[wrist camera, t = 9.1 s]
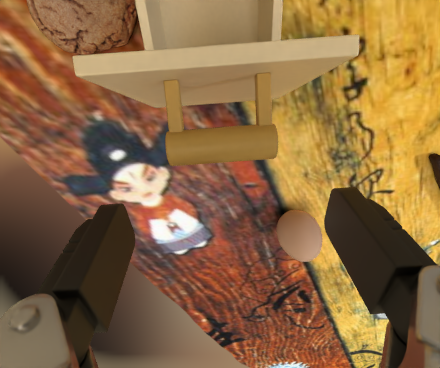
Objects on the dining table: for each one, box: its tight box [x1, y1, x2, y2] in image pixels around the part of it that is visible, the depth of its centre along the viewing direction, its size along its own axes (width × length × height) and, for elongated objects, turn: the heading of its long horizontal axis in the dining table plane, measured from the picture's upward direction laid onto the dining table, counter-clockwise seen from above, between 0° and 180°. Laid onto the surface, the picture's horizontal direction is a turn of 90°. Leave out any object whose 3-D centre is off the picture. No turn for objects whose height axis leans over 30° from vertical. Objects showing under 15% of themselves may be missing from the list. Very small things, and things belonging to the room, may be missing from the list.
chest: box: [135, 0, 283, 50], centre depth 23 cm, size 13×12×8 cm
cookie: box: [27, 0, 137, 55], centre depth 24 cm, size 10×11×3 cm
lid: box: [72, 35, 359, 166], centre depth 17 cm, size 13×12×5 cm
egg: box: [276, 210, 322, 262], centre depth 39 cm, size 7×7×9 cm
